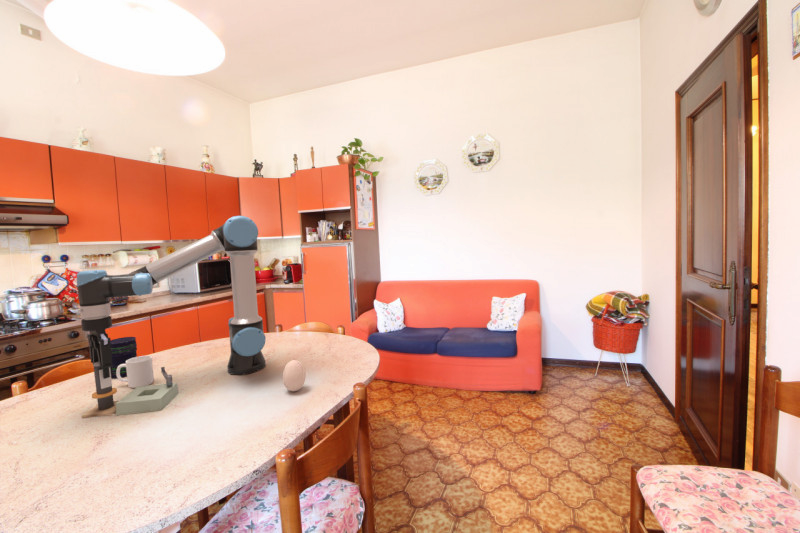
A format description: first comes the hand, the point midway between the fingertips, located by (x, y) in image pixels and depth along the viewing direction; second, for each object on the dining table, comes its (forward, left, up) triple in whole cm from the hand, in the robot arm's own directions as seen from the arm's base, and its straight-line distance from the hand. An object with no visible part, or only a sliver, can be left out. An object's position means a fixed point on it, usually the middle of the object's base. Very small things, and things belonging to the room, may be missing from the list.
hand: (103, 385), depth 116 cm
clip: (-15, -9, -4) cm, 18 cm away
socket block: (-12, -1, -8) cm, 15 cm away
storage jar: (+13, -35, -9) cm, 38 cm away
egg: (-61, +2, -9) cm, 62 cm away
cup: (+2, -21, -9) cm, 23 cm away
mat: (0, 0, -8) cm, 8 cm away
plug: (0, 0, -8) cm, 8 cm away
